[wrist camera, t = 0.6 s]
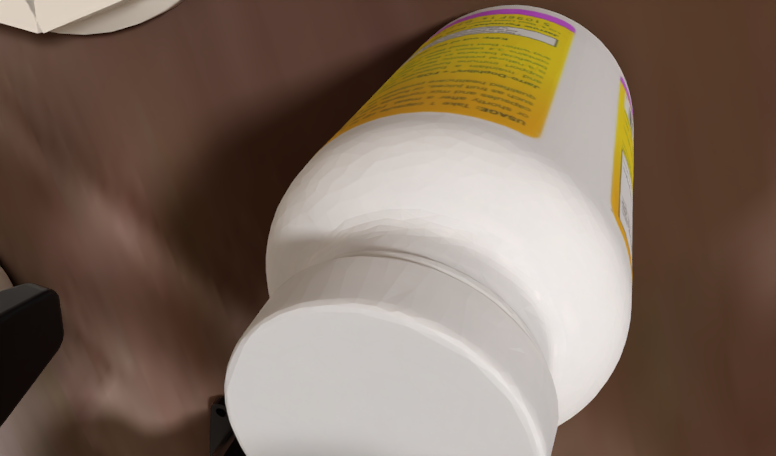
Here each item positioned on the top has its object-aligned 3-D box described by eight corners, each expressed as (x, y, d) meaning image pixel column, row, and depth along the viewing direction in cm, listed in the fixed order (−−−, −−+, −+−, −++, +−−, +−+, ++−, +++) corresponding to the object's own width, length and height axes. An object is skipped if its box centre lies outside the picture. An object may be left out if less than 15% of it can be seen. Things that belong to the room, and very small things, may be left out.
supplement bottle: (361, 101, 21) (81, 371, 11) (528, -56, 18) (359, 112, 7) (502, 254, 22) (376, 638, 12) (686, 136, 19) (748, 535, 8)
